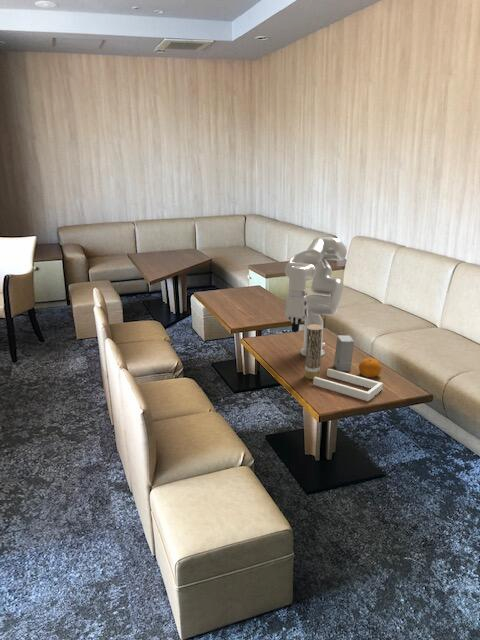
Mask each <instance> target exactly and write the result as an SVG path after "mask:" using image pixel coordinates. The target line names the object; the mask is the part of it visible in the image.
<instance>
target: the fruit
mask: <svg viewBox="0 0 480 640" xmlns="http://www.w3.org/2000/svg"><path fill="white" fill-rule="evenodd" d="M358 371H359V373H360V374H361V375H362V376H364V377H365V378H374V377H377V376H379V375H380V374H381V371H382V364H381V363H380V361H379V360H378V359H376V358H373V357H367V358H364V359H362V360H361V361H360V362H359V365H358Z"/></svg>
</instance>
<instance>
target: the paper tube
mask: <svg viewBox="0 0 480 640" xmlns="http://www.w3.org/2000/svg"><path fill="white" fill-rule="evenodd" d="M321 339H322V340H323V337H322V326H320V325H315V324H312V325H308V326H307V339H306V356H305V365H304V368H305V369H304V376H305V378H306V379H308V380H314V377H318V378H320V375H321V373H320V372H321V357H322V356H321Z"/></svg>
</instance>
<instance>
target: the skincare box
mask: <svg viewBox="0 0 480 640" xmlns="http://www.w3.org/2000/svg"><path fill="white" fill-rule="evenodd" d="M354 346H355V341H354V339H353V338H352V336H350V335H341V334H340V335H337V336H336V344H335V353H334V361H333V366H334V367H335V370H337V371H341V372H350V371H351V370H352V369H351V368H352V362H353V361H352V360H353V355H354V354H353V353H354Z"/></svg>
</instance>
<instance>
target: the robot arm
mask: <svg viewBox="0 0 480 640" xmlns="http://www.w3.org/2000/svg"><path fill="white" fill-rule="evenodd" d="M347 251H348V249H347V246H346V245H345V244H344V242H343V241H342V240H340V239H339V238H337V237H327V236H325V237H324V236H318V237H317V236H316V238H314V239H313V240H312V241H311V243H310V245H309V246H308V248H307V249H306V250H304V251H301V252H298V253H296V254H295V255H293V256H292V257H290V259H289V260H288V262H287V263H286V265H285V268H284V272H285V277H287V278H288V295H287V296H286V300H285V309H284V312H285V318H286V319H287V320H290V324H291V332H292V333H293V332H294V333H297V332H299V330H300V324H301V322H304V327H303V328H304V329H303V348H301V349H300V354H301V355H302V356H304V357H306V339H307V326H308V325H312V324H315V325H320V326H322V339H321V357H323V356H324V355H325V354H326V353H325V350H324V349H323V347H325V346H326V343H325V342H323V336H324V335H323V334H324V333H323V331H324V320H323V317H322V316H321V315H323V316H335V315H337V312H338V311H339V305H340V301H341V297H342V294H343V288H344V287H343V285H344V284H343V281H342V279H340V278H338V277H337V278H336V277H332V273H333V270H332V267H331V265H330V264H329V262H328V261H340V262H341V261H344V260H345V259H346V256H347ZM311 280H312V281H311ZM306 281H311V287H310V288H311V289H310V290H311V292H312V293H313V294H308V292H306Z"/></svg>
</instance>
